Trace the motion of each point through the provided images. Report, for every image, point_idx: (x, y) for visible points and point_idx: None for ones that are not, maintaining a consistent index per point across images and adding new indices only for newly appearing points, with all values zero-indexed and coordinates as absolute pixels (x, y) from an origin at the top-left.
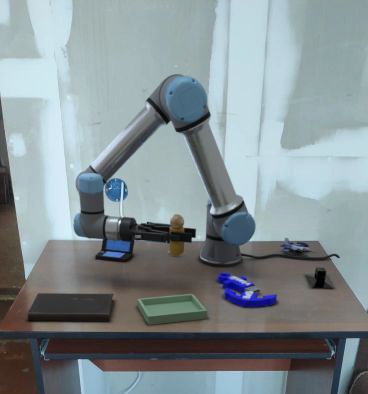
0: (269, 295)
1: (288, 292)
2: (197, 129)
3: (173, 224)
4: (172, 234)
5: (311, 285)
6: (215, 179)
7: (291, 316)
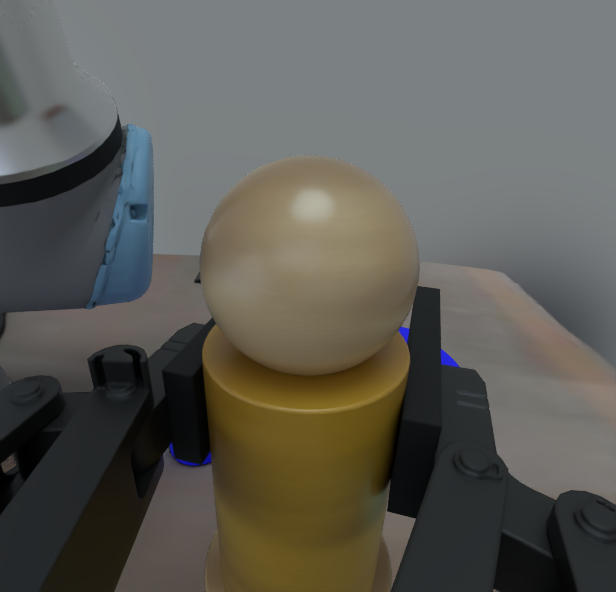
0: (406, 337)
1: None
2: None
3: (407, 309)
4: (449, 431)
5: None
6: None
7: (484, 332)
